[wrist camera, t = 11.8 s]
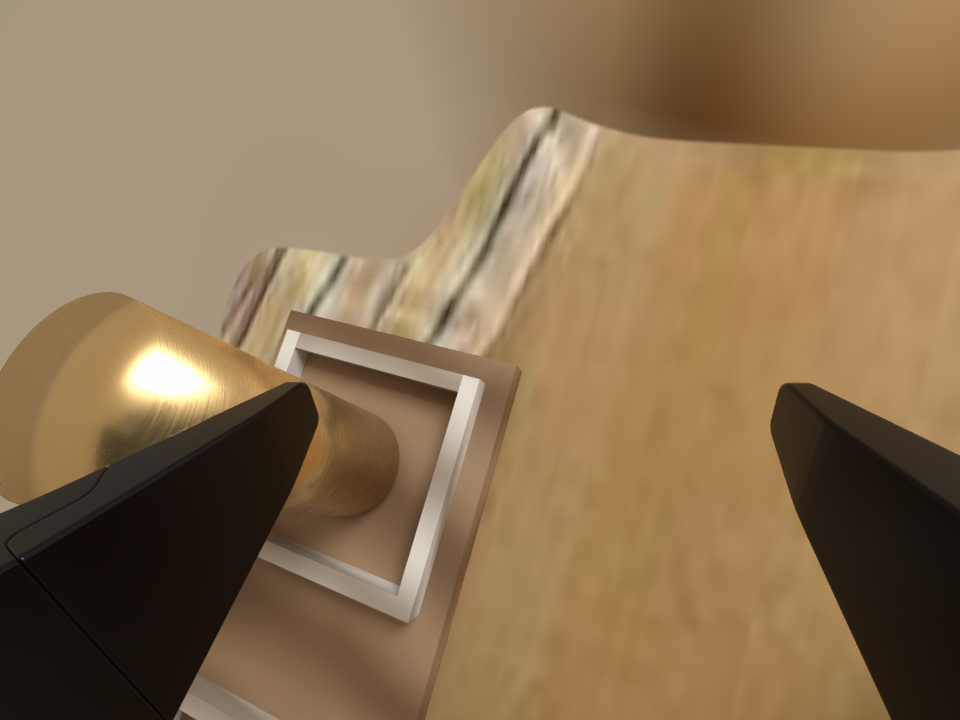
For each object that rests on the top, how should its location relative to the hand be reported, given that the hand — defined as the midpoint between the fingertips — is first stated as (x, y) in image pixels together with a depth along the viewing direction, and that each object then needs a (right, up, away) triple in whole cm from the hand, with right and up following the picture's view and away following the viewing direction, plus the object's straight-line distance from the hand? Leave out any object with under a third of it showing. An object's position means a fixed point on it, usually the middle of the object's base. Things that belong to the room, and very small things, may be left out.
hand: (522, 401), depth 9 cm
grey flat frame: (-9, -13, +14) cm, 21 cm away
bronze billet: (-7, -4, +14) cm, 16 cm away
